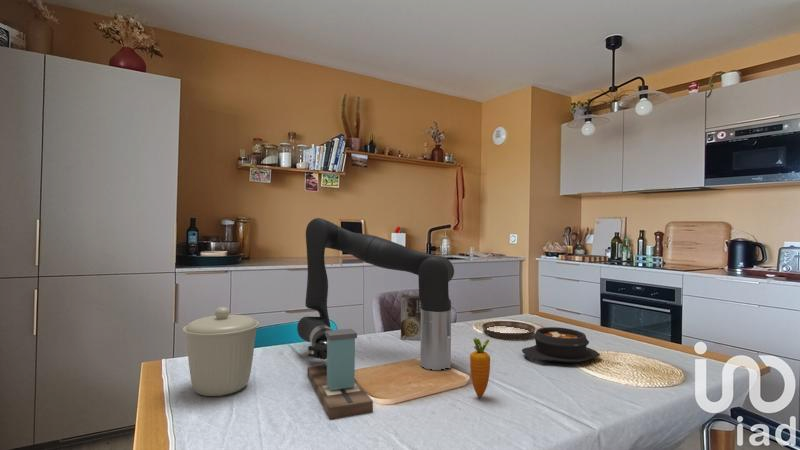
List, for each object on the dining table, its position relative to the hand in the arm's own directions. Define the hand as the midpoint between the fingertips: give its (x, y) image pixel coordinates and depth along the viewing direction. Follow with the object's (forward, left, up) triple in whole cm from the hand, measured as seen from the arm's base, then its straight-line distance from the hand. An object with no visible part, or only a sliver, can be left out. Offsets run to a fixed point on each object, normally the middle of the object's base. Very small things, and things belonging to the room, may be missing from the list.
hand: (338, 358), depth 103 cm
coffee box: (-13, -55, -9) cm, 58 cm away
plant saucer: (-50, -67, -9) cm, 85 cm away
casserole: (-63, -39, -9) cm, 75 cm away
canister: (+31, +1, -9) cm, 32 cm away
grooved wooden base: (+1, -1, -9) cm, 9 cm away
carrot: (-35, -3, -9) cm, 36 cm away
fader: (-1, +2, -6) cm, 6 cm away
